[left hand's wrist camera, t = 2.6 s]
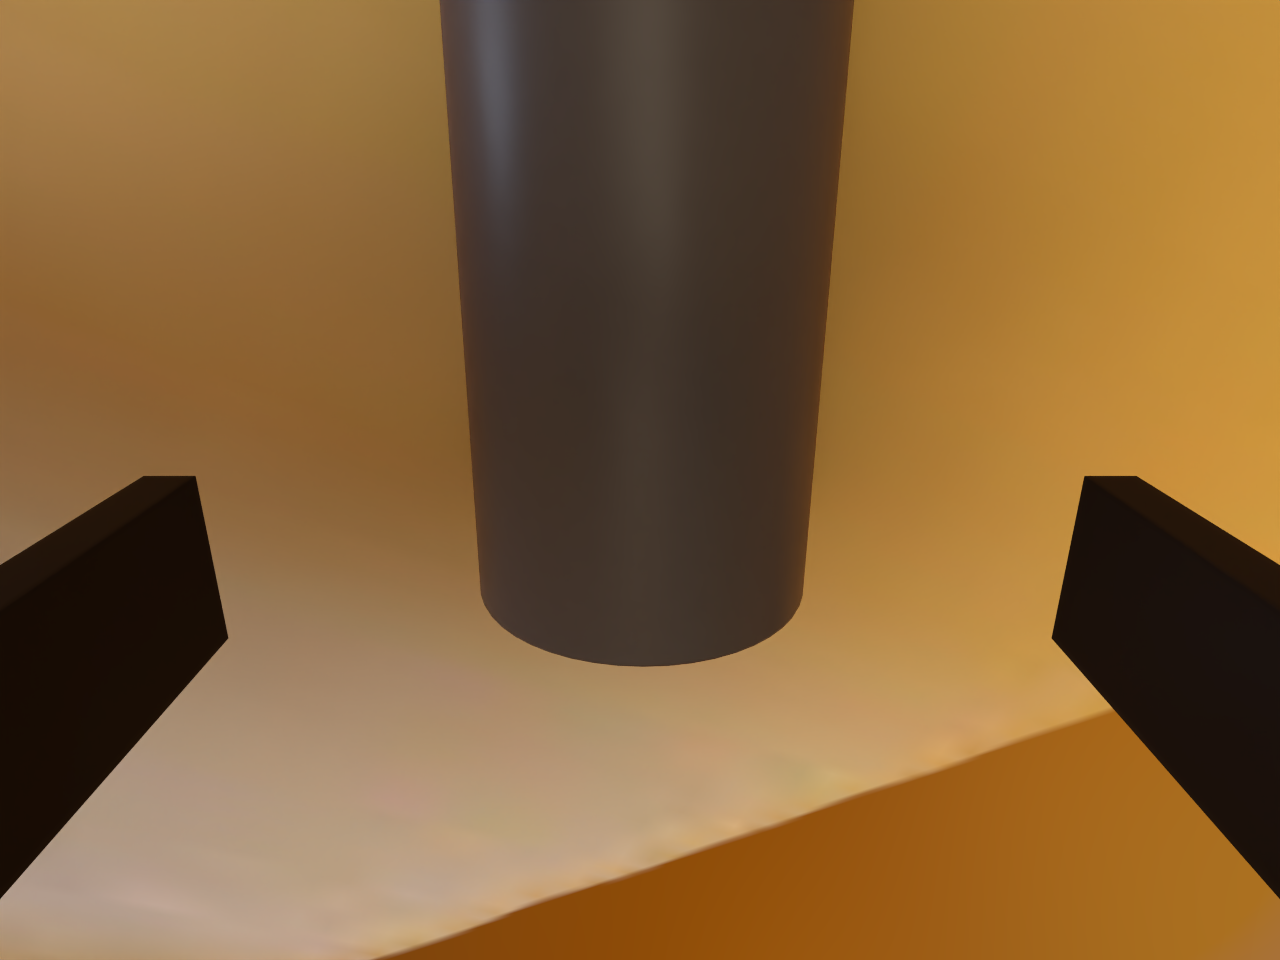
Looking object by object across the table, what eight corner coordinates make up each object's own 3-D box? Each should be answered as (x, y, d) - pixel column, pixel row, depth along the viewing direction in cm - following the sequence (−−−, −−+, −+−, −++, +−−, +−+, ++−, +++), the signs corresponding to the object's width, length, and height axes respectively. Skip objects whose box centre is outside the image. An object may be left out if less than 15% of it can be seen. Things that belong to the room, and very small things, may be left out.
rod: (774, 516, 26) (835, 668, 18) (506, 514, 26) (449, 668, 18) (852, -588, 17) (1037, -1232, 9) (444, -595, 17) (280, -1249, 9)
